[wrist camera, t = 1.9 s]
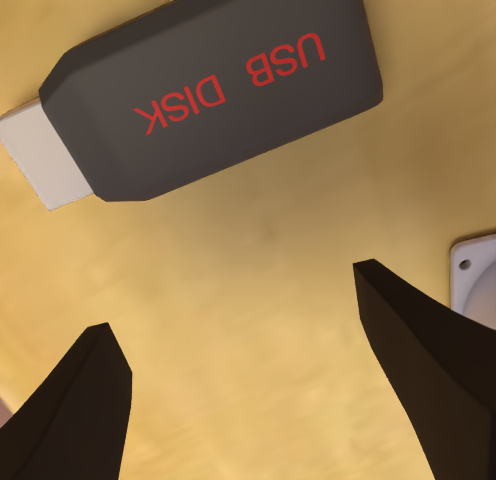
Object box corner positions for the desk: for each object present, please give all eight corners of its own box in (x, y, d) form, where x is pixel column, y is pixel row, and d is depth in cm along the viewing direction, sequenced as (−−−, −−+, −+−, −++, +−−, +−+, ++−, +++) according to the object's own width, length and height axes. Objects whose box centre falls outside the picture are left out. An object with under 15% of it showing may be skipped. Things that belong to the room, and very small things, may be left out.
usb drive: (372, 88, 17) (400, 106, 15) (78, 210, 18) (59, 245, 16) (331, -72, 15) (358, -83, 12) (-6, 82, 16) (-43, 100, 13)
